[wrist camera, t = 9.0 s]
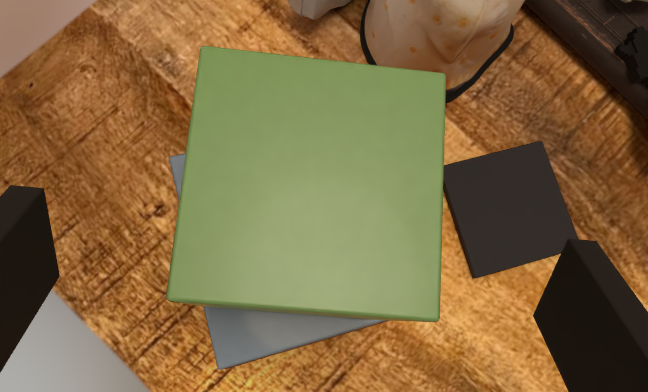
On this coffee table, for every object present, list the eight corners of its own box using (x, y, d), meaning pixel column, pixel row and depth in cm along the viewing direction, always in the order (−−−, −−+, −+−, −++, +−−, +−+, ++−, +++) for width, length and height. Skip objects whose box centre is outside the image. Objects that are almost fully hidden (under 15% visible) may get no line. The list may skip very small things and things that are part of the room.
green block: (373, 319, 20) (441, 322, 12) (207, 306, 19) (164, 300, 11) (381, 162, 21) (447, 72, 13) (227, 146, 21) (200, 43, 13)
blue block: (194, 196, 27) (168, 156, 20) (346, 159, 28) (369, 109, 21) (232, 356, 26) (218, 370, 19) (390, 309, 27) (431, 307, 20)
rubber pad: (436, 168, 38) (439, 166, 38) (538, 142, 39) (542, 140, 39) (472, 278, 37) (475, 278, 36) (577, 248, 38) (581, 247, 37)
